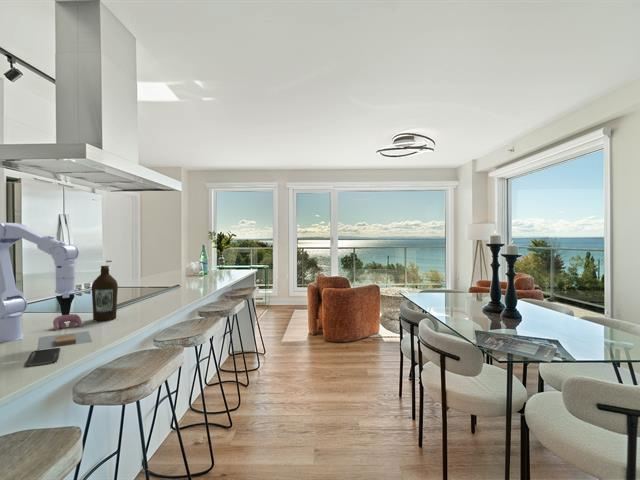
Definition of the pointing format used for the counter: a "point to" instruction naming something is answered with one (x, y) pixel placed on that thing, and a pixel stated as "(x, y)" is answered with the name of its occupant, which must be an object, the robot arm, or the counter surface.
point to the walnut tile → (65, 340)
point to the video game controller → (64, 318)
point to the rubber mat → (50, 340)
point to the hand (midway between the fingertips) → (65, 314)
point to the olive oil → (104, 296)
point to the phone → (43, 357)
